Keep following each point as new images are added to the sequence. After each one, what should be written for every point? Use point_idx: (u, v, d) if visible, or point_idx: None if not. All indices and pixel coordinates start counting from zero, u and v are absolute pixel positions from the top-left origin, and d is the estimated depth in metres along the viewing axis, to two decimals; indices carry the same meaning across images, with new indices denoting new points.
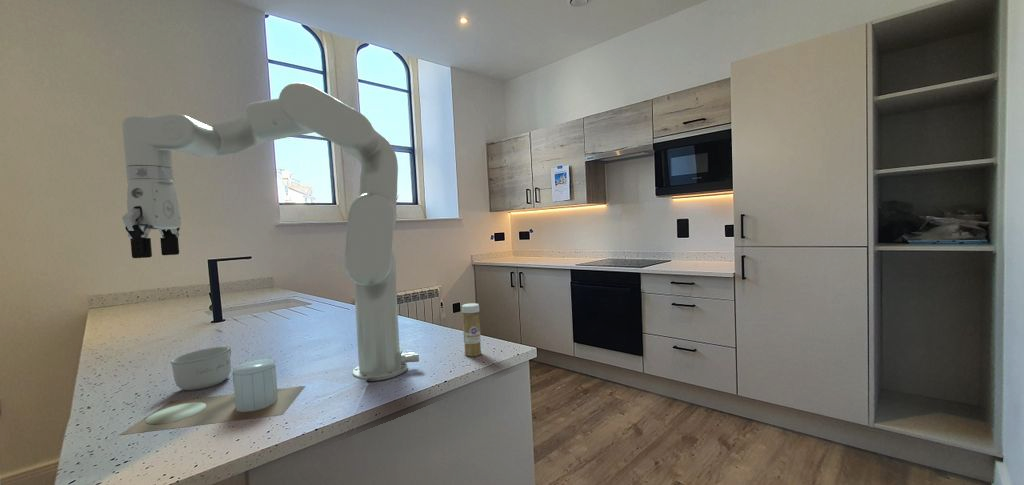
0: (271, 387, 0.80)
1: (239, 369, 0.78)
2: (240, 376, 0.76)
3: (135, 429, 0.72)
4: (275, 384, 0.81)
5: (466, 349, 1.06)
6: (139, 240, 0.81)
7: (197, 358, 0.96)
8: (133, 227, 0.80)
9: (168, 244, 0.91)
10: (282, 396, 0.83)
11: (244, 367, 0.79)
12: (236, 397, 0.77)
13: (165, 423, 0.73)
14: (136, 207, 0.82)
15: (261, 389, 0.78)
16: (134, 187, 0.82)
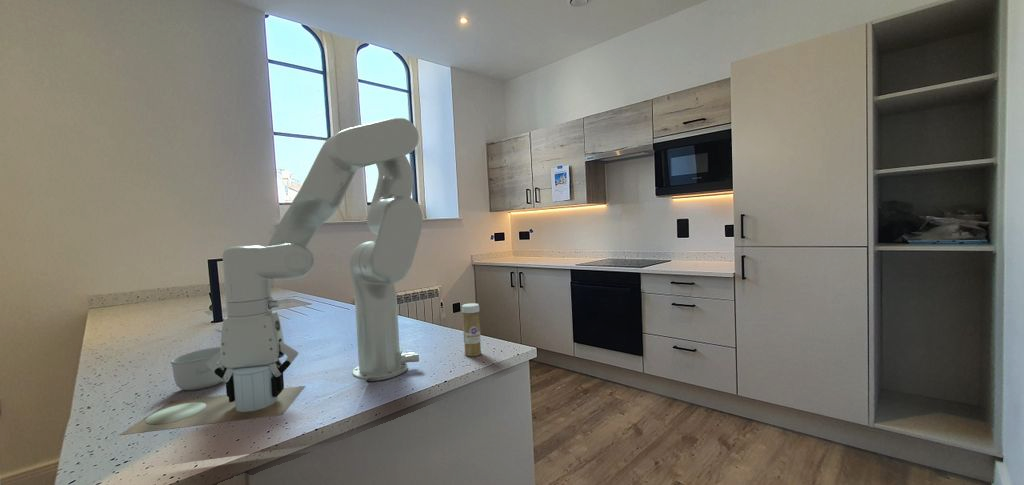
0: (271, 387, 0.80)
1: (239, 369, 0.78)
2: (240, 376, 0.76)
3: (135, 429, 0.72)
4: None
5: (466, 349, 1.06)
6: (282, 375, 0.81)
7: (197, 358, 0.96)
8: None
9: None
10: (282, 396, 0.83)
11: None
12: (236, 397, 0.77)
13: (165, 423, 0.73)
14: (278, 340, 0.80)
15: (261, 389, 0.78)
16: (275, 320, 0.80)
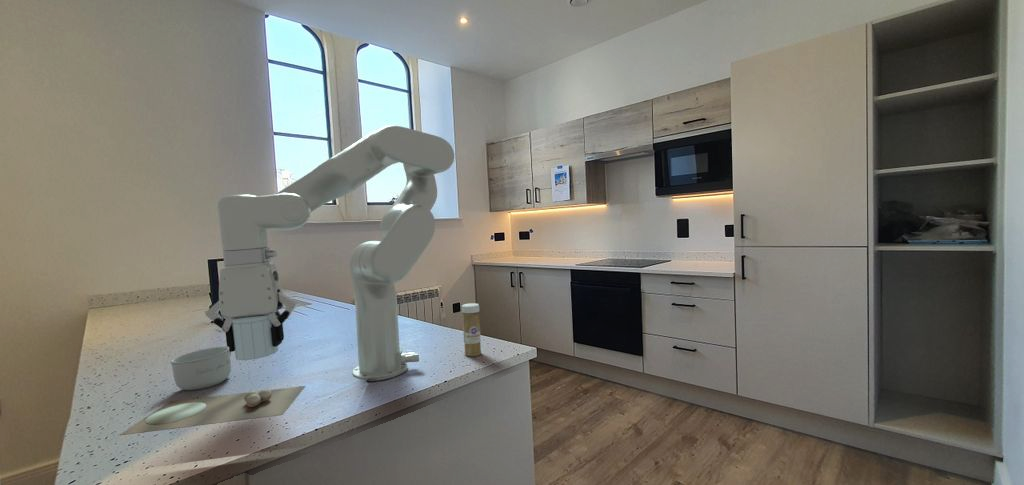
0: (271, 337, 0.80)
1: (238, 318, 0.78)
2: (239, 324, 0.76)
3: (135, 429, 0.72)
4: None
5: (466, 349, 1.06)
6: (281, 325, 0.81)
7: (197, 358, 0.96)
8: None
9: None
10: (282, 396, 0.83)
11: (243, 317, 0.79)
12: (236, 346, 0.77)
13: (165, 423, 0.73)
14: (277, 290, 0.80)
15: (261, 338, 0.78)
16: (273, 270, 0.80)
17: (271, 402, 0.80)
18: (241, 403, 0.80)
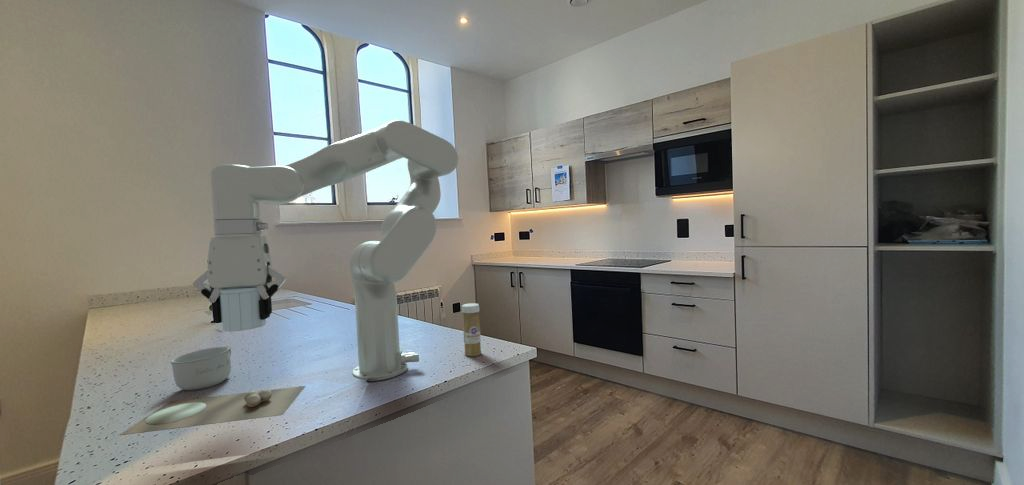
0: None
1: (226, 289, 0.77)
2: (227, 295, 0.75)
3: (135, 429, 0.72)
4: None
5: (466, 349, 1.06)
6: (270, 299, 0.80)
7: (197, 358, 0.96)
8: None
9: None
10: (282, 396, 0.83)
11: (231, 288, 0.78)
12: (223, 317, 0.76)
13: (165, 423, 0.73)
14: (266, 263, 0.80)
15: (248, 310, 0.77)
16: (263, 242, 0.79)
17: (271, 402, 0.80)
18: (241, 403, 0.80)
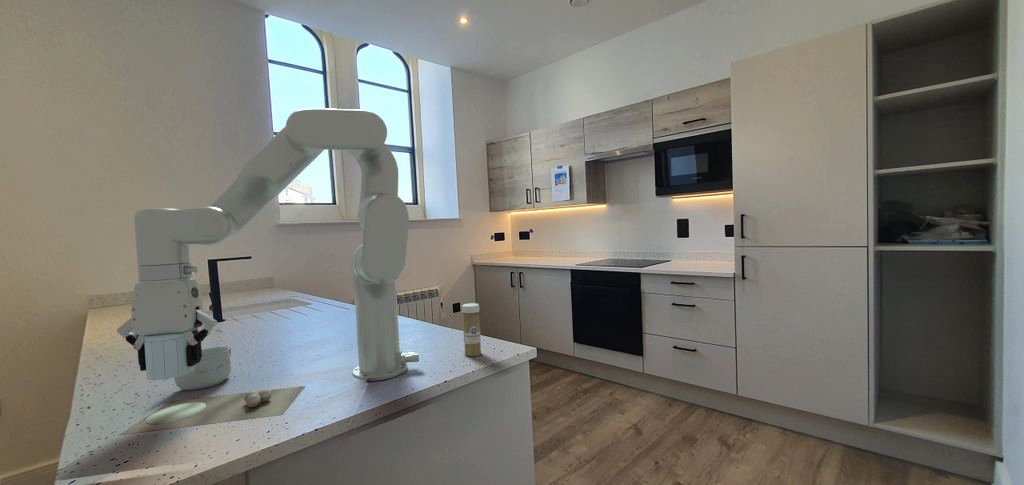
0: (186, 356, 0.76)
1: (151, 336, 0.75)
2: (150, 342, 0.73)
3: (135, 429, 0.72)
4: None
5: (466, 349, 1.06)
6: (199, 344, 0.78)
7: None
8: (209, 331, 0.79)
9: None
10: (282, 396, 0.83)
11: None
12: (146, 365, 0.74)
13: (165, 423, 0.73)
14: (195, 307, 0.77)
15: (173, 357, 0.75)
16: (191, 287, 0.77)
17: (271, 402, 0.80)
18: (241, 403, 0.80)
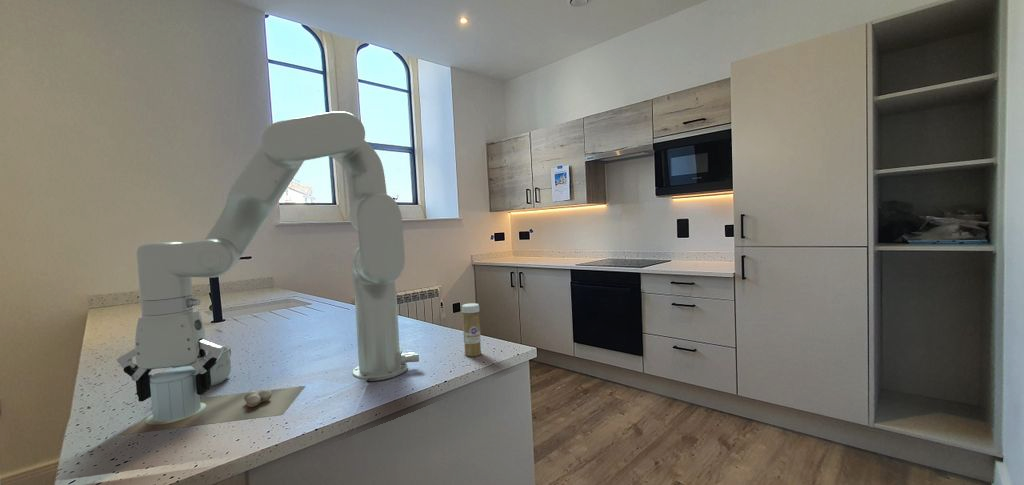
0: (191, 396, 0.77)
1: (156, 377, 0.75)
2: (156, 384, 0.74)
3: (135, 429, 0.72)
4: None
5: (466, 349, 1.06)
6: (208, 372, 0.79)
7: None
8: (218, 359, 0.79)
9: (147, 385, 0.76)
10: (282, 396, 0.83)
11: (162, 375, 0.76)
12: (152, 406, 0.74)
13: (165, 423, 0.73)
14: (198, 340, 0.78)
15: (179, 398, 0.75)
16: (195, 319, 0.77)
17: (271, 402, 0.80)
18: (241, 403, 0.80)
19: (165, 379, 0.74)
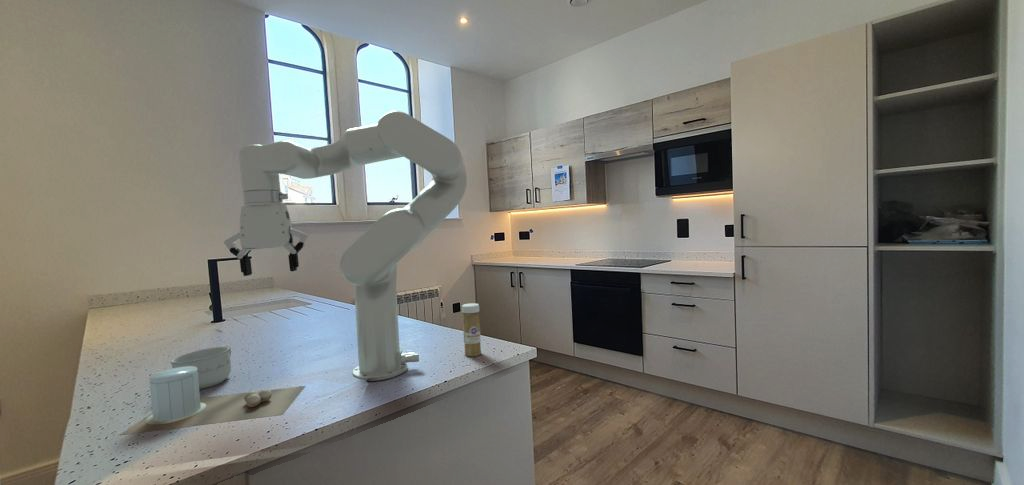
0: (191, 396, 0.77)
1: (156, 377, 0.75)
2: (156, 384, 0.74)
3: (135, 429, 0.72)
4: (197, 392, 0.78)
5: (466, 349, 1.06)
6: (297, 255, 0.96)
7: (197, 358, 0.96)
8: None
9: (248, 264, 0.93)
10: (282, 396, 0.83)
11: (162, 375, 0.76)
12: (152, 406, 0.74)
13: (165, 423, 0.73)
14: (288, 227, 0.95)
15: (179, 398, 0.75)
16: (285, 210, 0.94)
17: (271, 402, 0.80)
18: (241, 403, 0.80)
19: (165, 379, 0.74)
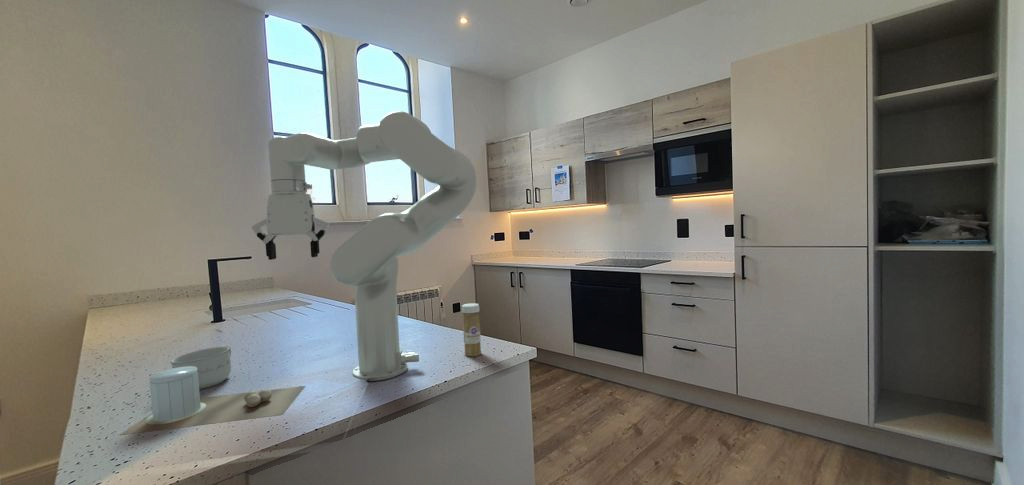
0: (191, 396, 0.77)
1: (156, 377, 0.75)
2: (156, 384, 0.74)
3: (135, 429, 0.72)
4: (197, 392, 0.78)
5: (466, 349, 1.06)
6: (318, 242, 1.01)
7: (197, 358, 0.96)
8: None
9: (273, 249, 0.99)
10: (282, 396, 0.83)
11: (162, 375, 0.76)
12: (152, 406, 0.74)
13: (165, 423, 0.73)
14: (311, 215, 1.00)
15: (179, 398, 0.75)
16: (309, 199, 1.00)
17: (271, 402, 0.80)
18: (241, 403, 0.80)
19: (165, 379, 0.74)
